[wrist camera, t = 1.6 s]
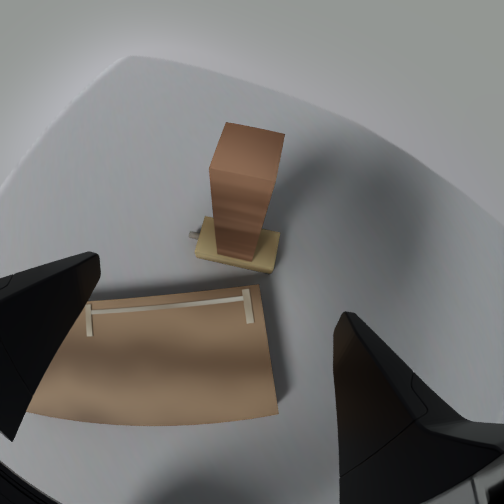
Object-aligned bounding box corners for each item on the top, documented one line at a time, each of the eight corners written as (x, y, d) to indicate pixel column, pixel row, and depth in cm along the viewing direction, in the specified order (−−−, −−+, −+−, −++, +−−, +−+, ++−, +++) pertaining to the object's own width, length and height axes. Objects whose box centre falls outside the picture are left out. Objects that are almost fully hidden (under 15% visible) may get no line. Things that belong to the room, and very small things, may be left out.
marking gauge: (270, 274, 22) (317, 197, 10) (186, 255, 22) (146, 162, 10) (276, 239, 23) (323, 141, 11) (195, 221, 23) (172, 111, 11)
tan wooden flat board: (274, 407, 19) (279, 414, 17) (34, 407, 16) (21, 410, 14) (256, 289, 22) (259, 284, 20) (23, 308, 19) (10, 305, 17)
